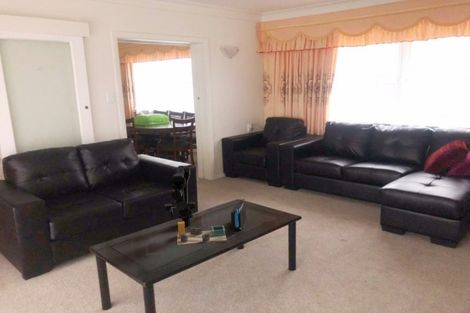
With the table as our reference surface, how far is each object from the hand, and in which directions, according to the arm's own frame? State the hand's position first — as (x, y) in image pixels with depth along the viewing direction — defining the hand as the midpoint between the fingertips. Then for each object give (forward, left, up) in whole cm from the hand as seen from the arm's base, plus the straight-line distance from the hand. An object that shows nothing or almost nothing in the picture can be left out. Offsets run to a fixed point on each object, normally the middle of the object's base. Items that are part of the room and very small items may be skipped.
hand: (181, 219), depth 230 cm
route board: (+4, +12, -12) cm, 17 cm away
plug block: (0, 0, -11) cm, 11 cm away
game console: (-14, +39, -13) cm, 43 cm away
